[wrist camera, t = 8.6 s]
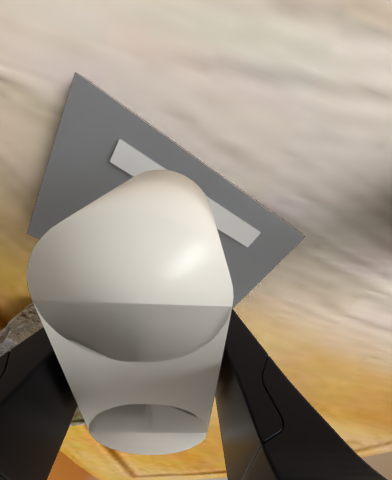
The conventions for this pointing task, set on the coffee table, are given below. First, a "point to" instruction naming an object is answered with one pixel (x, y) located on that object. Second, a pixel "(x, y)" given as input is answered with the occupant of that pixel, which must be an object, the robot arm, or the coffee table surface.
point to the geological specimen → (19, 331)
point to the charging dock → (145, 159)
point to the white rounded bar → (138, 311)
